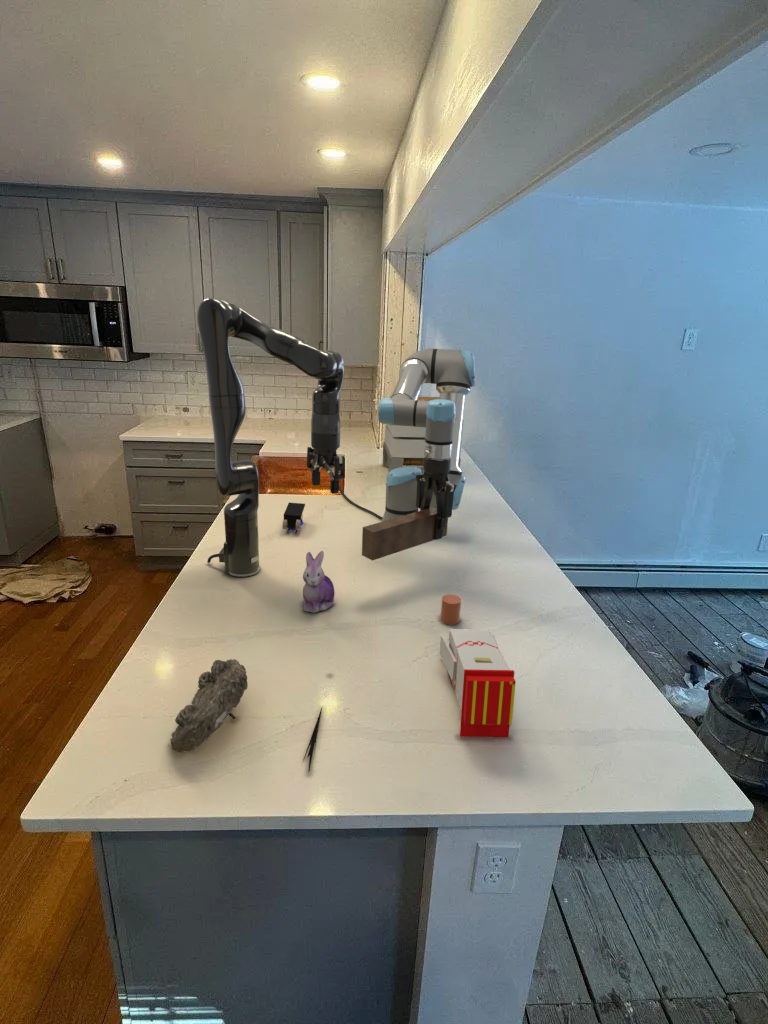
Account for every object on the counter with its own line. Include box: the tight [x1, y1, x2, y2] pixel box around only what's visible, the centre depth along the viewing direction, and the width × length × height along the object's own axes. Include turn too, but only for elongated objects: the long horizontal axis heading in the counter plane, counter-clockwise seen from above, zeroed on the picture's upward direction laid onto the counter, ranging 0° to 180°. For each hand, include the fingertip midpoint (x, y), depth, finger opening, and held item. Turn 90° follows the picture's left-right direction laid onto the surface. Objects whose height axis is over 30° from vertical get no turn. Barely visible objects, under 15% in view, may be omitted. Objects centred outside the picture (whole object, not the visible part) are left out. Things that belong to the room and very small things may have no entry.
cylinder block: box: [439, 593, 462, 626], centre depth 145 cm, size 5×5×6 cm
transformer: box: [381, 396, 464, 473], centre depth 268 cm, size 34×33×41 cm
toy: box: [438, 628, 517, 738], centre depth 117 cm, size 12×13×30 cm
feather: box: [301, 673, 332, 771], centre depth 108 cm, size 2×28×2 cm
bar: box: [361, 506, 449, 561], centre depth 156 cm, size 28×4×8 cm, turn 131°
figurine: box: [302, 550, 335, 613], centre depth 147 cm, size 9×10×15 cm
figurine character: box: [282, 502, 306, 535], centre depth 199 cm, size 7×8×15 cm
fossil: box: [170, 658, 249, 753], centre depth 106 cm, size 22×10×15 cm
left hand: (325, 488), depth 153 cm, fingers open, 8 cm apart
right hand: (431, 535), depth 163 cm, fingers closed on bar, 4 cm apart
